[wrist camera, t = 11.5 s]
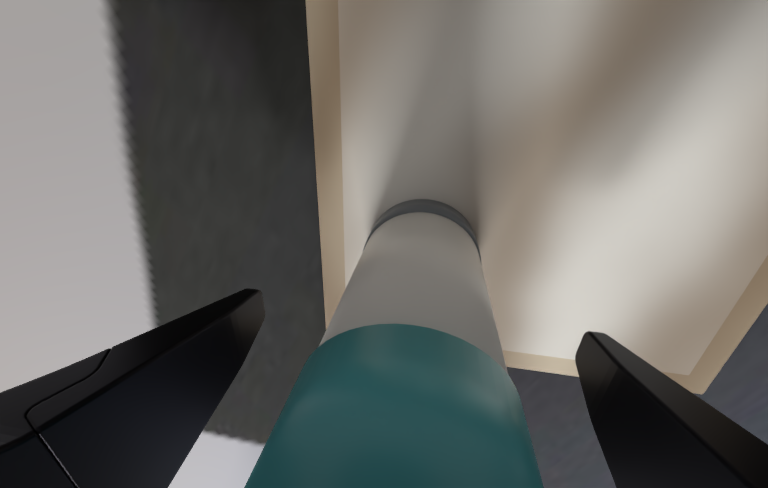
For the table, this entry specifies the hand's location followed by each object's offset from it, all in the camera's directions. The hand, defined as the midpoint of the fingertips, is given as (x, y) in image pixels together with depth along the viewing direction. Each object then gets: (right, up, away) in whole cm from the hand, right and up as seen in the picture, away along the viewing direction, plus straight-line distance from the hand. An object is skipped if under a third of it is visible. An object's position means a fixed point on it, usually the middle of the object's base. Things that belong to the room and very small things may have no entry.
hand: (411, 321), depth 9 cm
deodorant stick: (+1, +2, +3) cm, 4 cm away
